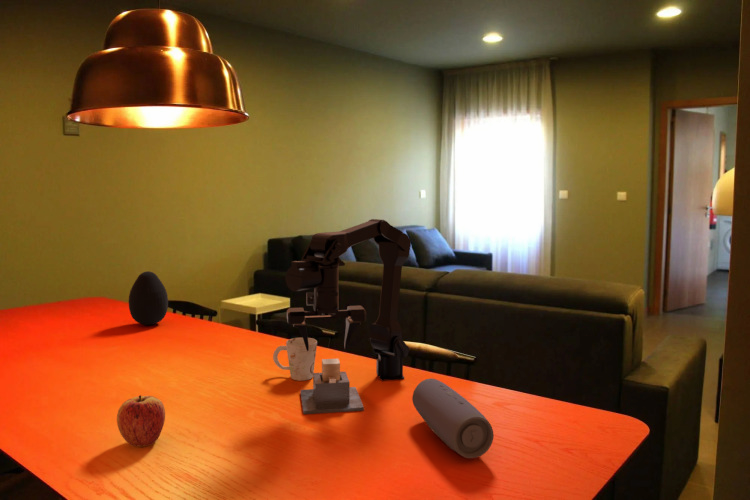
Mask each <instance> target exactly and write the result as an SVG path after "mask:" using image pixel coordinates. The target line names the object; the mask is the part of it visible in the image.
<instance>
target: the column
mask: <svg viewBox="0 0 750 500" xmlns="http://www.w3.org/2000/svg"><path fill="white" fill-rule="evenodd" d="M340 372H341V363H340V359H339V358H326V359H325V358H322V359H321V373H322V381H329V377H336V381H340Z"/></svg>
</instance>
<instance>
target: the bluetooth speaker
mask: <svg viewBox="0 0 750 500" xmlns="http://www.w3.org/2000/svg"><path fill="white" fill-rule="evenodd" d="M411 398H412V403H413V406H414V408H415V410H416V412H417V413H418V414H419V415H420V417H421V419H423V421H424V422H425V423H426V424H427V426H428V428H429V429H430V430H431V431H432V432H433V433H434V434H435V435H436V436H437V437H439V439H440V440H441V441H442V442H443V443H444V444H445V446H447V447H448V448H449V449H451V450H452V451H454V452H456V453H457V454H459V455H460V456H461V457H463V458H466V459H475V458H480V457H481V456H483V455H485V454H486V453H487V452H488V451H489V449H490V448H491V447H492V444H493V441H494V429H493V427H492V425H491V423H490V421H488V419H487V418H486V417H485V415H484V414H482V412H481V411H480V410H478V409H477V408H476V407H475V406H474V405H473V404H472V403H471V402H470V401H468V400H467V399H466V398H465V397H464V396H463V395H461V394H460V393H458V392H457V391H455V390H454V389H453V388H451V387H450V386H449V385H447V384H446V383H444V382H442V381H441V380H439V379H435V378H426V379H424V380H421V381H420V382H419V383H418V384H417V385H416V387H415V389H414V391H413V393H412V397H411Z"/></svg>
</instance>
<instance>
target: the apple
mask: <svg viewBox="0 0 750 500" xmlns="http://www.w3.org/2000/svg"><path fill="white" fill-rule="evenodd" d="M165 420H166V409H165V406H164V402H162V400H161V399H160V398H158V397H155V396H153V395H139V396H134V397H132V398H128V399H127V400H125V401H123V403H122V404H121V405H120V407H119V408H118V411H117V414H116V423H117V424H116V425H117V428H118V431H119V433H120V435H121V437H122V438H123V439H124V441H125V442H126V443H128V445H130V446H133V447H148V446H151V445H152V444H155V442H156V441H158V439H159V437H160V435H161V433H162V432H163V427H164V424H165Z"/></svg>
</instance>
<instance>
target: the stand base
mask: <svg viewBox="0 0 750 500" xmlns="http://www.w3.org/2000/svg"><path fill="white" fill-rule="evenodd" d="M312 379H313V380H312V384H313V385H312V387H313V388H312V389H300V398H301V405H302V413H303V415H310V414H311V415H312V414H314V415H315V414H330V413H331V414H332V413H346V412H358V411H359V412H363V411H365V407H364V404H363V402H362V399H361V397H360V395H359V392H358V390H357V387H356V386H350V383H351V382H350V379H349V377H348V374H347V372H346V371H340V381H336V377H329V381H322V372H314V373H313V377H312Z"/></svg>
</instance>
